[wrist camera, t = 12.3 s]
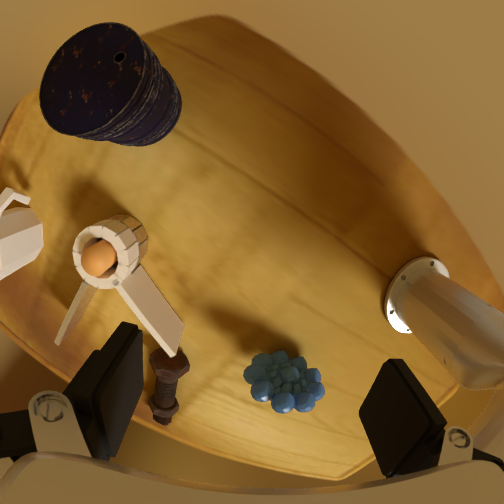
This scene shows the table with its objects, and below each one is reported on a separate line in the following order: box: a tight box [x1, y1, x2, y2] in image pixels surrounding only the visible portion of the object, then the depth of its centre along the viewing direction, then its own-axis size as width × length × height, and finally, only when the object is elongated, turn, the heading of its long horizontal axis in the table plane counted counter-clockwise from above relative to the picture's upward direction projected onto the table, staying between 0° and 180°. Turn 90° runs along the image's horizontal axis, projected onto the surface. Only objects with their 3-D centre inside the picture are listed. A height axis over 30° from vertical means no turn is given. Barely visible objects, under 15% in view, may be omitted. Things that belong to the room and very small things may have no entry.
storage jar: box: [39, 22, 182, 146], centre depth 23 cm, size 10×10×15 cm
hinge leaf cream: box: [73, 219, 184, 357], centre depth 32 cm, size 17×7×7 cm, turn 30°
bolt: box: [149, 348, 190, 426], centre depth 39 cm, size 6×5×15 cm
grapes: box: [243, 351, 325, 413], centre depth 35 cm, size 12×7×12 cm, turn 68°
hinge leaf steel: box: [54, 214, 148, 346], centre depth 32 cm, size 7×19×7 cm, turn 140°
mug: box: [0, 187, 44, 280], centre depth 28 cm, size 12×9×10 cm
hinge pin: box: [81, 239, 118, 276], centre depth 30 cm, size 3×3×9 cm
